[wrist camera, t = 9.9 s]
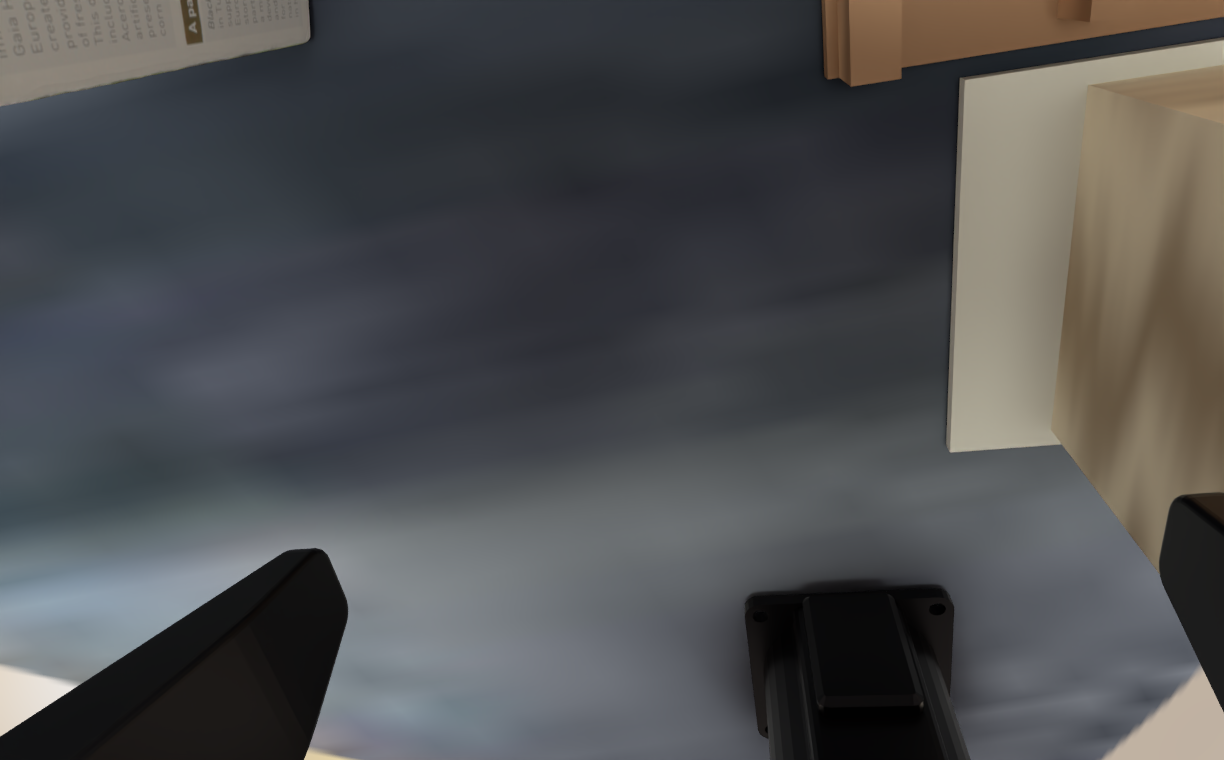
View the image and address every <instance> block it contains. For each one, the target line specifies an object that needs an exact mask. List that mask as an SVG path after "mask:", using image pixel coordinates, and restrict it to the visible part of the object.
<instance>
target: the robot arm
mask: <svg viewBox="0 0 1224 760" xmlns="http://www.w3.org/2000/svg"><path fill="white" fill-rule="evenodd" d="M1159 572H1160V577H1161V580H1162V584H1163V586H1164V588H1165V590H1166V593H1167V595H1168V597H1169V599H1170V601H1171V603H1172V605H1173V607H1174V609H1175V611H1176V613H1177V616H1178V618H1179V620H1180V622H1181V624H1182V626H1183V628H1184V630H1185V632H1186V634H1187V637H1188V639H1189V641H1190V643H1191V645H1192V647H1193V649H1194V651H1195V653H1196V655H1197V657H1198V660H1199V662H1200V664H1201V666H1202V668H1203V670H1204V672H1205V674H1206V676H1207V678H1208V680H1209V682H1210V684H1211V687H1212V689H1213V690H1214V693H1215V695H1216V697H1217V699H1218V701H1219V704H1220V706H1221V707H1222V709H1223V712H1224V493H1223V492H1212V493H1196V494H1183V495H1180V496H1178V497H1176V498H1175V499H1174V500H1173V501H1172V503H1171V505H1170V508H1169V511H1168V516H1167V521H1166V526H1165V531H1164V536H1163V541H1162V547H1161V552H1160V557H1159ZM936 603H939V605H938V606H931V605H933V604H936ZM756 611H764V613H756ZM347 619H348V604H347V600H346V597H345V594H344V592H343V590H342V587H341V585H340V583H339V580H338V578H337V575H336V573H335V571H334V568H333V566H332V564H331V561H330V559H329V557H328V555H327V554H326V553H325V552H324V551H323V550H321V549H317V548H312V549H295V550H289V551H286V552H284V553H282V554H281V555H279V556H277V557H276V558H274V559H273V560H271V561H270V562H268V563H267V564H265V565H264V566H262V567H261V568H259V569H257V570H256V571H254V572H253V573H251V574H250V575H248V576H247V577H245V578H244V579H242V580H241V581H239V582H237V583H236V584H234V585H233V586H231V587H230V588H228V589H227V590H225V591H224V592H222V593H221V594H219V595H217V596H216V597H214V598H213V599H211V600H210V601H208V602H207V603H205V604H204V605H202V606H201V607H199V608H197V609H196V610H194V611H193V612H191V613H190V614H188V615H187V616H185V617H184V618H182V619H181V620H179V621H177V622H176V623H174V624H173V625H171V626H170V627H168V628H167V629H165V630H164V631H162V632H161V633H159V634H157V635H156V636H154V637H153V638H151V639H150V640H148V641H147V642H145V643H144V644H142V645H141V646H139V647H137V648H136V649H134V650H133V651H131V652H130V653H128V654H127V655H125V656H124V657H122V658H121V659H119V660H117V661H116V662H114V663H113V664H111V665H110V666H108V667H107V668H105V669H104V670H102V671H101V672H99V673H97V674H96V675H94V676H93V677H91V678H90V679H88V680H87V681H85V682H84V683H82V684H81V685H79V686H77V687H76V688H74V689H73V690H71V691H70V692H68V693H67V694H65V695H64V696H62V697H61V698H59V699H57V700H56V701H54V702H53V703H51V704H50V705H48V706H47V707H45V708H44V709H42V710H41V711H39V712H37V713H36V714H34V715H33V716H31V717H30V718H28V719H27V720H25V721H24V722H22V723H21V724H19V725H17V726H16V727H14V728H13V729H12V730H10V731H8V732H7V733H5V734H4V735H2V736H1V737H0V760H304V758H305V756H306V753H307V750H308V748H309V745H310V742H311V739H312V736H313V733H314V730H315V727H316V724H317V721H318V718H319V714H320V711H321V707H322V704H323V701H324V697H325V694H326V691H327V687H328V684H329V681H330V677H331V674H332V670H333V667H334V664H335V660H336V657H337V654H338V650H339V647H340V644H341V640H342V637H343V633H344V630H345V627H346V623H347ZM745 621H746V630H747V638H748V647H749V656H750V664H751V673H752V681H753V690H754V699H755V707H756V716H757V724H758V731H759V733H760V734H761V735H762V736H763V737H765V738H768V739H769V750H770V760H970V757H969V754H968V751H967V748H966V745H965V742H964V739H963V736H962V733H961V730H960V727H959V724H958V721H957V718H956V715H955V712H954V709H953V706H952V703H951V700H950V685H951V664H952V643H953V622H954V606H953V603H952V600H951V598H950V595H949V594H948V593H947V592H946V591H944V590H942V589H935V588H933V589H910V590H888V591H865V592H843V593H820V594H798V595H776V596H757V597H753V598H751V599H749V600H748V601H747V602H746V603H745Z"/></svg>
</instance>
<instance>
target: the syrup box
mask: <svg viewBox="0 0 1224 760" xmlns="http://www.w3.org/2000/svg"><path fill="white" fill-rule="evenodd" d="M309 39H310V17H309V0H0V106H5V105H10V104H16V103H21V102H26V101H32V100H37V99H42V98H46V97H50V96H54V95H58V94H63V93H69V92H74V91H80V90H86V89H90V88H94V87H98V86H103V85H109V84H116V83H120V82H124V81H128V80H133V79H138V78H142V77H146V76H149V75H156V74H161V73H164V72H171V71H176V70H181V69H184V68H188V67H193V66H198V65H204V64H207V63H211V62H217V61H222V60H228V59H233V58H238V57H244V56H248V55H252V54H257V53H261V52H267V51H272V50H277V49H282V48H286V47H291V46H295V45H300V44H304V43H306V42H307V41H308V40H309Z"/></svg>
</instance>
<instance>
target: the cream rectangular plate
mask: <svg viewBox="0 0 1224 760" xmlns="http://www.w3.org/2000/svg"><path fill="white" fill-rule="evenodd" d="M1218 65H1224V37H1222V38H1216V39H1209V40H1203V41H1196V42H1190V43H1183V44H1177V45H1170V46H1164V47H1157V48H1151V49H1144V50H1138V51H1131V52H1125V53H1118V54H1112V55H1105V56H1099V57H1092V58H1086V59H1079V60H1073V61H1067V62H1060V63H1054V64H1047V65H1041V66H1034V67H1028V68H1021V69H1015V70H1008V71H1002V72H995V73H989V74H982V75H976V76H969V77H963V78H960V85H959V112H958V139H957V166H956V194H955V221H954V248H953V275H952V302H951V329H950V356H949V383H948V410H947V437H946V445H947V447H948V449H949V451H950V452H963V451H977V450H990V449H1004V448H1018V447H1031V446H1045V445H1058V444H1061V443H1060V441H1059V440H1058V439H1057V437H1056V436H1055V435H1054V433H1053V432H1052V431H1051V425H1052V416H1053V407H1054V397H1055V388H1056V379H1057V370H1058V360H1059V351H1060V342H1061V332H1062V323H1063V314H1064V305H1065V295H1066V286H1067V277H1068V268H1069V258H1070V249H1071V240H1072V230H1073V221H1074V212H1075V203H1076V193H1077V184H1078V175H1079V165H1080V156H1081V147H1082V138H1083V128H1084V119H1085V110H1086V100H1087V91H1088V85H1091V84H1098V83H1104V82H1111V81H1118V80H1124V79H1131V78H1138V77H1145V76H1151V75H1158V74H1165V73H1171V72H1178V71H1185V70H1191V69H1198V68H1205V67H1212V66H1218Z"/></svg>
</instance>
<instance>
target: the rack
mask: <svg viewBox="0 0 1224 760" xmlns="http://www.w3.org/2000/svg"><path fill="white" fill-rule="evenodd" d="M1219 17H1224V0H822V24H823V51H824V76H825V77H826V78H827V79H834V78H841V79H842V80H843V81H844V82H846V83H847V84H848V85H849V86H851V87H852V86H858V85H865V84H871V83H878V82H884V81H890V80H897V79H901V68H903V67H910V66H916V65H922V64H928V63H935V62H941V61H947V60H954V59H960V58H966V57H973V56H979V55H985V54H992V53H998V52H1004V51H1010V50H1017V49H1023V48H1029V47H1036V46H1042V45H1048V44H1055V43H1061V42H1067V41H1074V40H1080V39H1086V38H1093V37H1099V36H1105V35H1111V34H1118V33H1124V32H1130V31H1137V30H1143V29H1149V28H1156V27H1162V26H1168V25H1175V24H1181V23H1187V22H1193V21H1200V20H1206V19H1212V18H1219Z"/></svg>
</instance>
